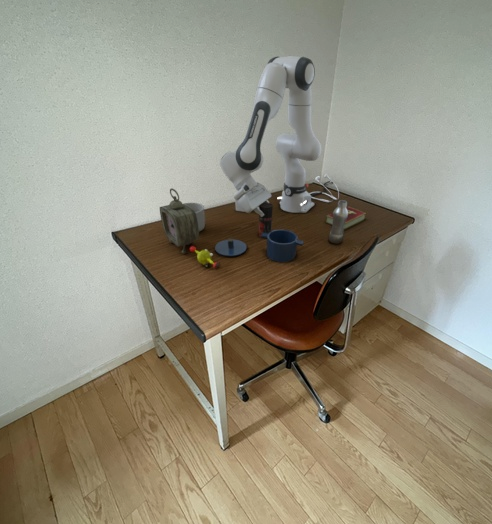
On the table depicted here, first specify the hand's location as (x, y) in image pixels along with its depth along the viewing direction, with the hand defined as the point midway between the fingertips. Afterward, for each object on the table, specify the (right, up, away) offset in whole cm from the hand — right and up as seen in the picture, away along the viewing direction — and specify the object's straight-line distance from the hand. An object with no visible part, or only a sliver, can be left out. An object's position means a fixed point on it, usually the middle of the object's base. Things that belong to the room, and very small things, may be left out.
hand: (267, 213), depth 121 cm
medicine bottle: (-15, +7, +29) cm, 34 cm away
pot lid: (-15, -16, -6) cm, 23 cm away
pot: (+7, -19, -6) cm, 21 cm away
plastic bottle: (+32, -13, +6) cm, 35 cm away
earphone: (+32, +19, +53) cm, 65 cm away
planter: (-36, -7, +6) cm, 37 cm away
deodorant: (-1, -9, +7) cm, 12 cm away
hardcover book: (+41, 0, +26) cm, 49 cm away
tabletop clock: (-35, -16, -7) cm, 39 cm away
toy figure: (-22, -24, -17) cm, 37 cm away
